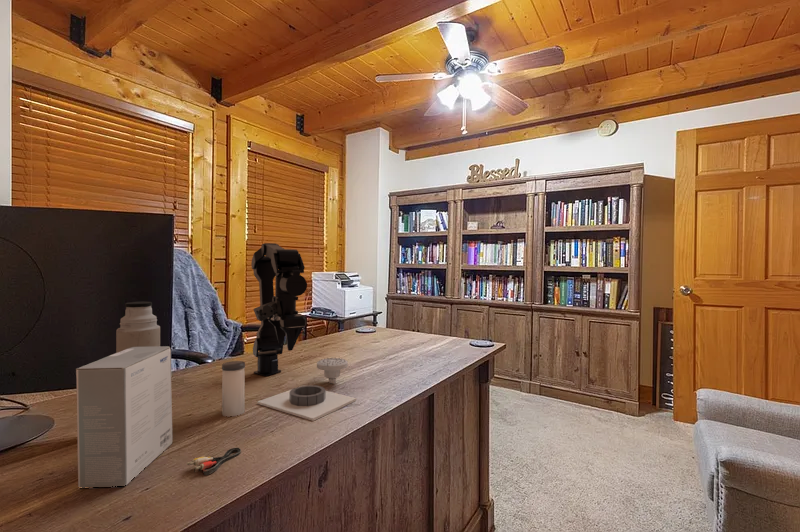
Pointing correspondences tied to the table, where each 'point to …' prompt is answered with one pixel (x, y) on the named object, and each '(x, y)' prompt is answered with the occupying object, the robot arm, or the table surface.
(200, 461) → the composite cable
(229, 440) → the table surface
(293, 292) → the robot arm
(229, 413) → the canister
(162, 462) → the table surface
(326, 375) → the showerhead
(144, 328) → the thermos bottle
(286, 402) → the socket
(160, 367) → the hard drive box
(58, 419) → the table surface
